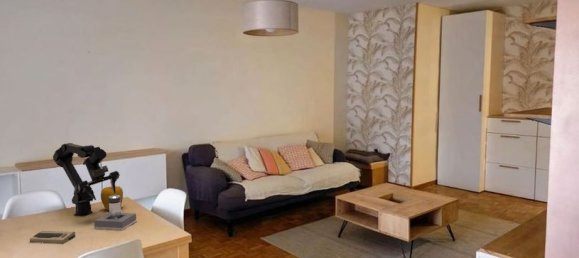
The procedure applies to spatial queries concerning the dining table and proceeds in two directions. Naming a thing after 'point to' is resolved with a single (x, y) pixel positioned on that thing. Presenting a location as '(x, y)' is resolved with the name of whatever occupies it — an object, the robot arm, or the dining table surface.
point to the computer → (53, 237)
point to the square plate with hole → (115, 221)
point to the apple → (109, 192)
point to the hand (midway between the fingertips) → (105, 196)
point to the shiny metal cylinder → (115, 206)
